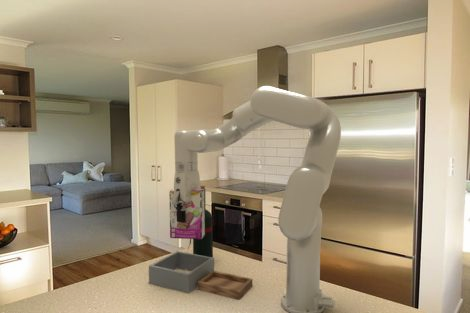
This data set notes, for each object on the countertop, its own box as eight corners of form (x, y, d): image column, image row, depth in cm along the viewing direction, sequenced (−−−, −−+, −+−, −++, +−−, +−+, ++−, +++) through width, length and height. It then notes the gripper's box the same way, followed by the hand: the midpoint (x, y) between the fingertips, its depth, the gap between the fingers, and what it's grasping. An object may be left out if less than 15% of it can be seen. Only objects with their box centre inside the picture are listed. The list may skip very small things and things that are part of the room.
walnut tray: (252, 286, 111) (252, 278, 111) (239, 299, 102) (239, 291, 102) (213, 277, 118) (213, 270, 117) (197, 289, 109) (197, 281, 108)
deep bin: (214, 274, 120) (214, 257, 120) (188, 293, 106) (188, 274, 106) (177, 266, 127) (177, 250, 127) (149, 283, 113) (148, 265, 113)
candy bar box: (169, 239, 113) (168, 190, 112) (173, 234, 118) (172, 188, 117) (202, 239, 112) (201, 190, 110) (205, 235, 117) (204, 188, 115)
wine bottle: (189, 257, 137) (188, 184, 135) (214, 258, 136) (214, 184, 134) (185, 264, 129) (184, 187, 127) (211, 265, 128) (210, 187, 126)
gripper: (180, 170, 104) (181, 227, 105) (209, 165, 119) (210, 215, 120) (161, 169, 107) (162, 224, 108) (191, 164, 122) (192, 213, 124)
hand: (187, 219), depth 114 cm, fingers closed on candy bar box, 6 cm apart
